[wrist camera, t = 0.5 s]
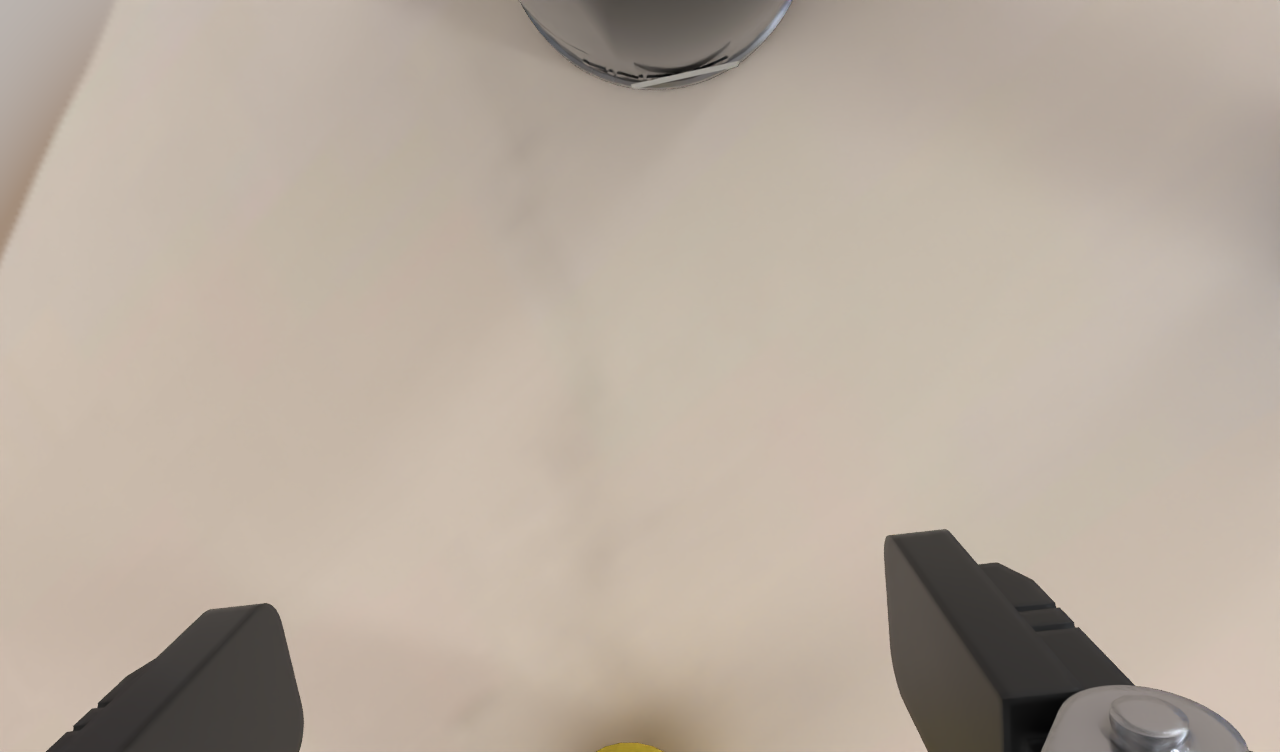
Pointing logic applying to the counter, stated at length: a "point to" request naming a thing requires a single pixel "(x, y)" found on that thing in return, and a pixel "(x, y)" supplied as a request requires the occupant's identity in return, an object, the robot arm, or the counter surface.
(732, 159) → the counter surface
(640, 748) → the lemon
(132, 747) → the robot arm
